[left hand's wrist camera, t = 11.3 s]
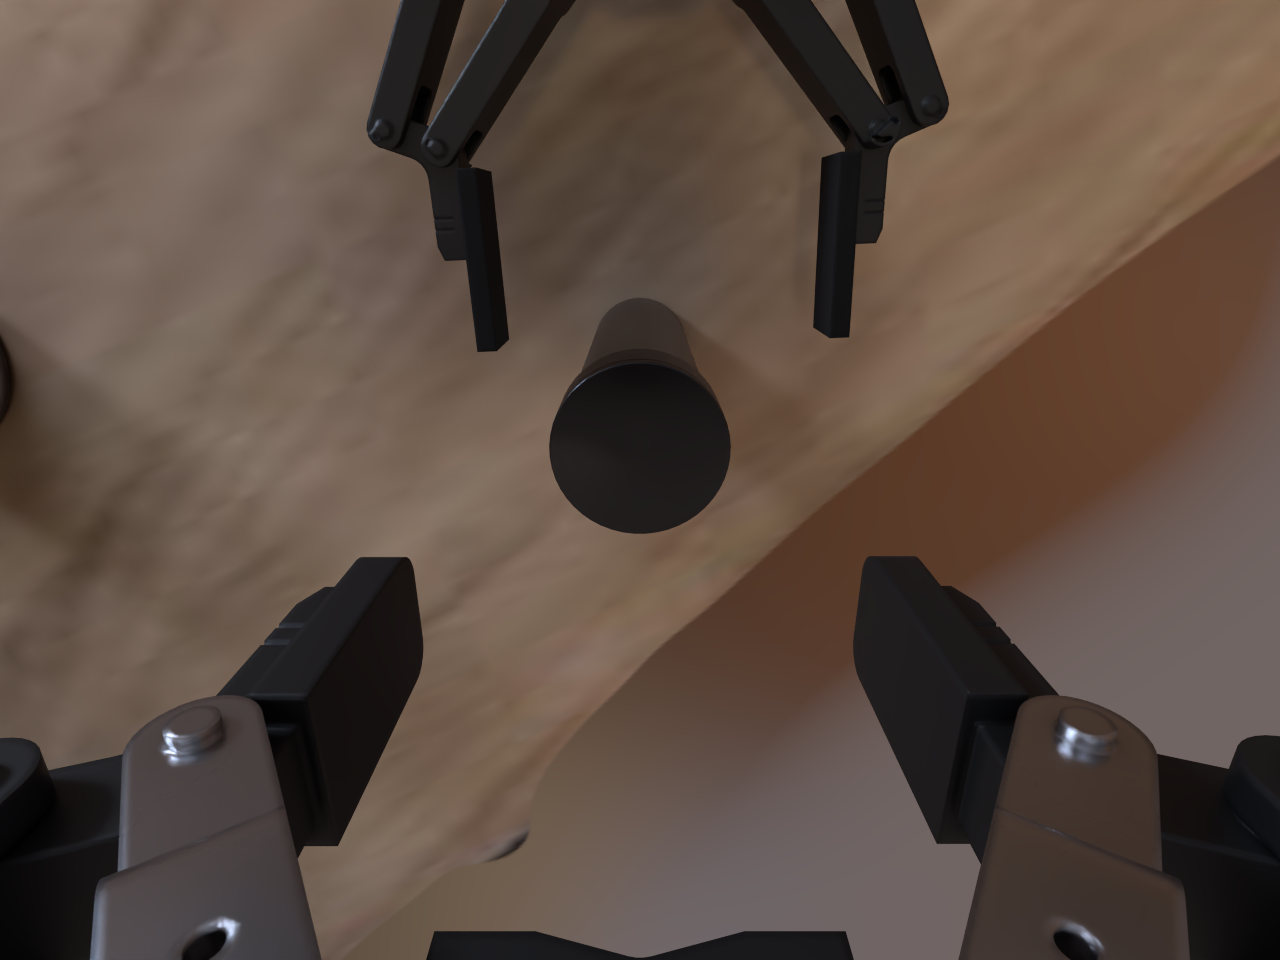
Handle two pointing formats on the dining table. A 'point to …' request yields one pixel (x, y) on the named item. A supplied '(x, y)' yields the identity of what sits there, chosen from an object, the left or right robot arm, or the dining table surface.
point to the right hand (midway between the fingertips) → (661, 340)
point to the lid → (640, 442)
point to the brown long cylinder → (639, 331)
